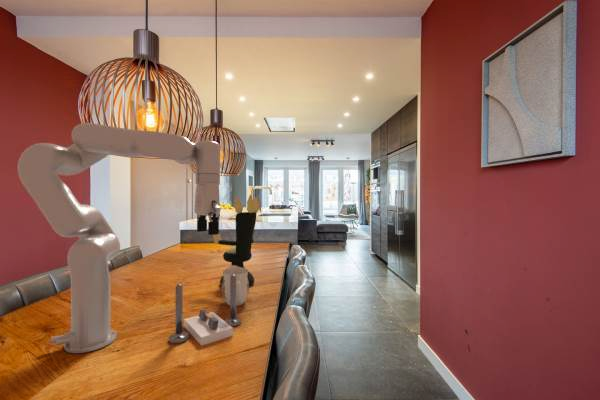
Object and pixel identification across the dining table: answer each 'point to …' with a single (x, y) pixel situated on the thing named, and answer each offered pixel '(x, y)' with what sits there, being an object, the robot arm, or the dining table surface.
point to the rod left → (178, 318)
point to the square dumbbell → (212, 320)
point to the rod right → (233, 304)
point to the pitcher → (241, 284)
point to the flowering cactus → (241, 236)
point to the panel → (207, 329)
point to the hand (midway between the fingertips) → (207, 232)
